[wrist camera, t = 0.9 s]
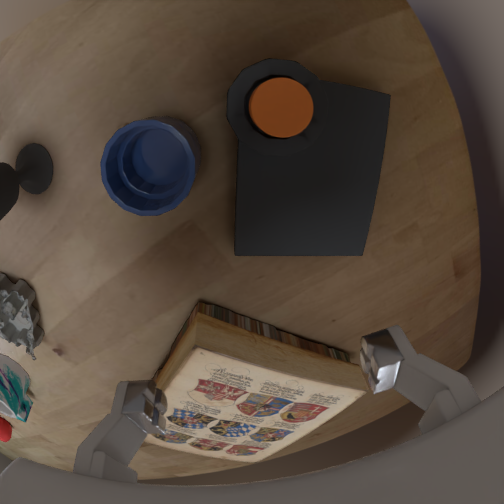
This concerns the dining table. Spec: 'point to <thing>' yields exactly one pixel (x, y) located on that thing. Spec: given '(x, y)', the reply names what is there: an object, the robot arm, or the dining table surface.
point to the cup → (151, 165)
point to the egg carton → (19, 315)
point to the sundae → (24, 176)
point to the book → (248, 387)
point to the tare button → (281, 107)
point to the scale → (307, 168)
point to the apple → (5, 430)
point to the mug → (14, 389)
